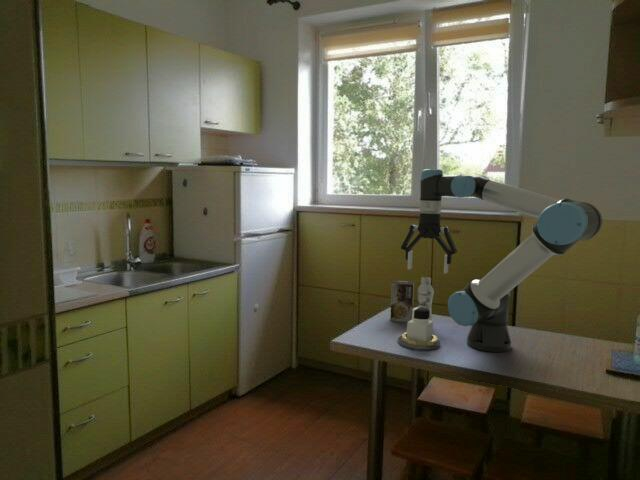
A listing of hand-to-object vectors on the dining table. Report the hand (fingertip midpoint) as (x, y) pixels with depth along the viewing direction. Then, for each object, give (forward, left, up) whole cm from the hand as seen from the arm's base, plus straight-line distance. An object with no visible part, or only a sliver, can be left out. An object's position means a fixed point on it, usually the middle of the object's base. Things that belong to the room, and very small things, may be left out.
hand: (427, 270), depth 179 cm
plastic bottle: (-2, -15, -26) cm, 30 cm away
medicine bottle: (+2, +5, -25) cm, 25 cm away
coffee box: (+6, -24, -26) cm, 36 cm away
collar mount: (+2, +5, -26) cm, 26 cm away
